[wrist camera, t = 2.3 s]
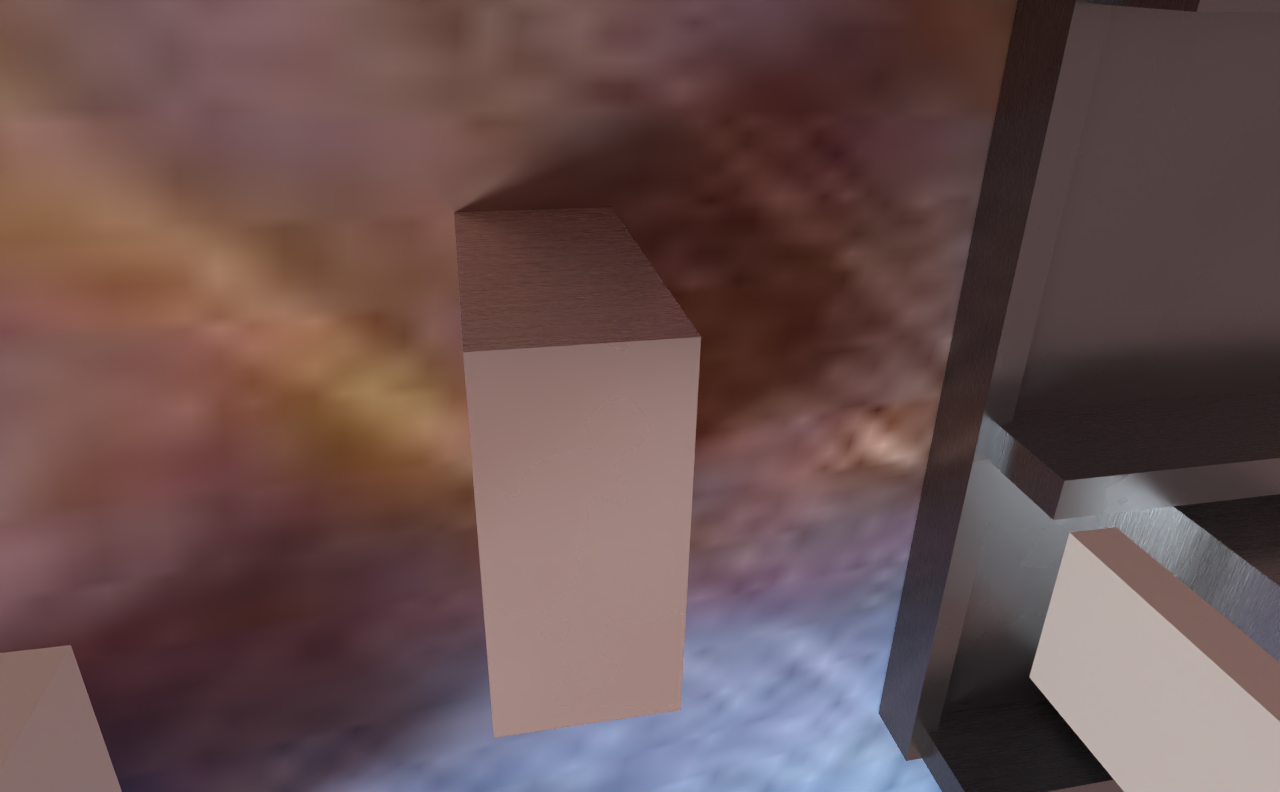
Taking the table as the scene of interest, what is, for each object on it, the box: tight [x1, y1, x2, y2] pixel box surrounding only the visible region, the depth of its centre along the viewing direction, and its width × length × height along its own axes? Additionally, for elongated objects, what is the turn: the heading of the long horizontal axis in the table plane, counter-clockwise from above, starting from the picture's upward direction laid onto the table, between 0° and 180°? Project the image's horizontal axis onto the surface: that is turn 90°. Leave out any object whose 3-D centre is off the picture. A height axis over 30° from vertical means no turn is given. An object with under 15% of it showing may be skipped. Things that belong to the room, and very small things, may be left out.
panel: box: [454, 207, 701, 738], centre depth 16 cm, size 7×3×7 cm, turn 178°
